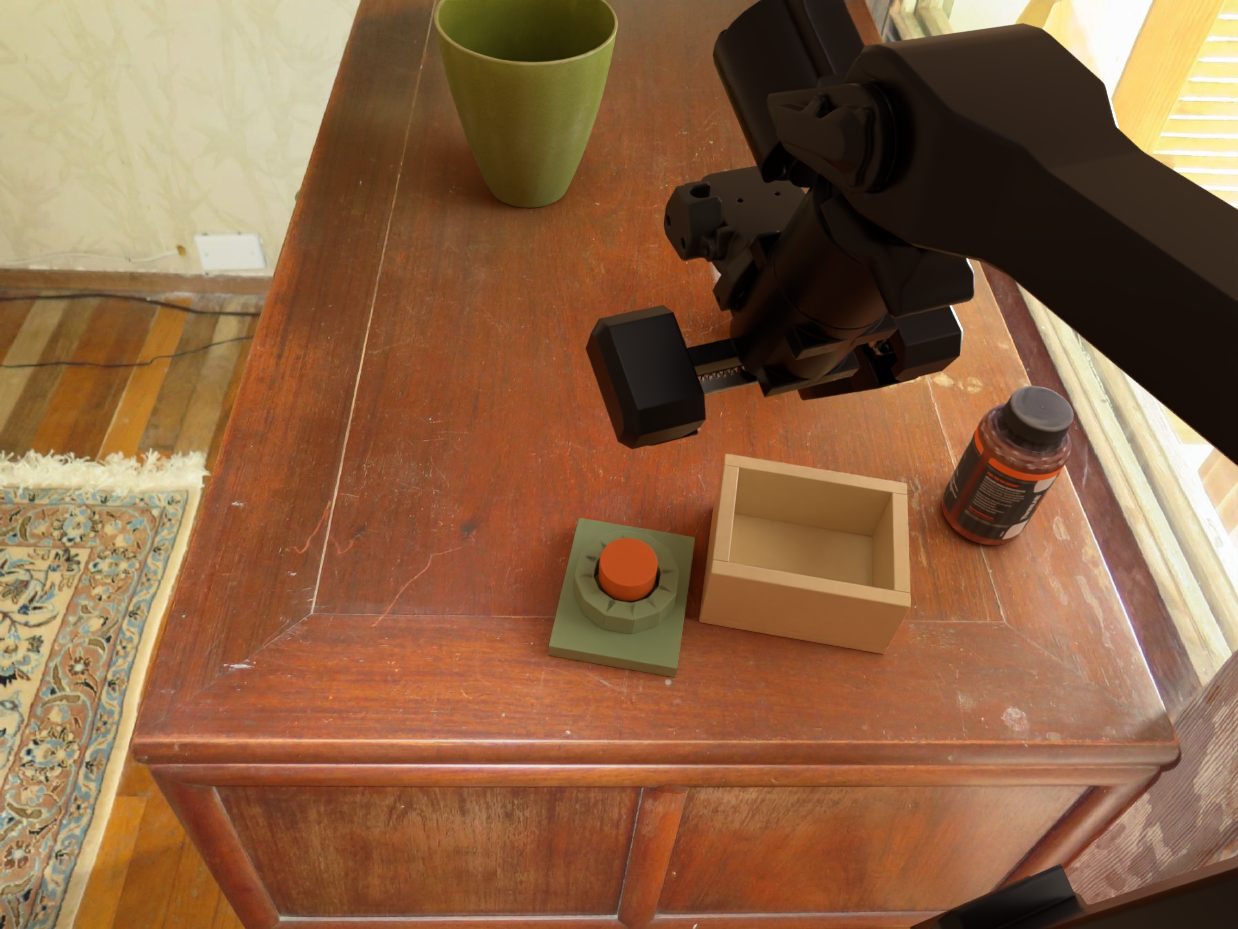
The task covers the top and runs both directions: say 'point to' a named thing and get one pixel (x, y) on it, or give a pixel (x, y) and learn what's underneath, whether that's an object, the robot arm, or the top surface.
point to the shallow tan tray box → (808, 554)
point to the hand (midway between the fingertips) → (730, 409)
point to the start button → (627, 569)
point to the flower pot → (526, 87)
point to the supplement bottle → (1009, 466)
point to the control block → (623, 603)
